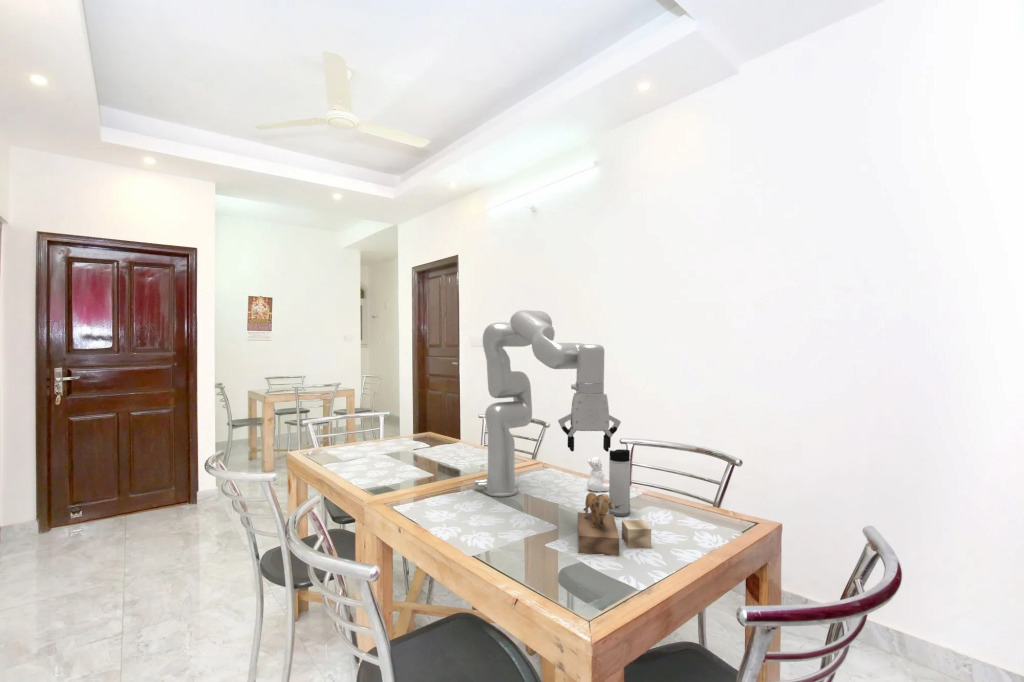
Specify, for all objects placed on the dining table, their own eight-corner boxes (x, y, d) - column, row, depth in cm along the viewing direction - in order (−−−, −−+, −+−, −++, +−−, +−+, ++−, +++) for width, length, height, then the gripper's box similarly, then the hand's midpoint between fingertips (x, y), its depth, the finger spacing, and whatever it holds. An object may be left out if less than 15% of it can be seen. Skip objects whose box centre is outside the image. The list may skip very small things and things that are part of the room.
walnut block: (578, 555, 114) (578, 535, 114) (577, 529, 130) (577, 512, 130) (619, 558, 113) (619, 538, 113) (613, 531, 129) (613, 514, 129)
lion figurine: (617, 531, 117) (617, 496, 117) (598, 533, 116) (598, 497, 116) (591, 510, 131) (591, 479, 131) (574, 512, 130) (574, 480, 130)
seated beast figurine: (616, 491, 163) (616, 457, 163) (599, 495, 158) (599, 461, 158) (597, 484, 170) (597, 452, 171) (580, 488, 166) (580, 455, 166)
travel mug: (619, 518, 137) (619, 452, 137) (605, 511, 143) (605, 447, 143) (635, 515, 140) (635, 450, 140) (620, 508, 146) (620, 445, 146)
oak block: (628, 548, 117) (628, 529, 117) (621, 538, 123) (621, 520, 123) (651, 548, 117) (651, 529, 117) (643, 538, 123) (643, 520, 123)
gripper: (561, 390, 122) (560, 453, 122) (624, 390, 123) (623, 453, 123) (557, 387, 130) (555, 446, 130) (616, 387, 130) (615, 447, 131)
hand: (588, 450), depth 126 cm, fingers open, 9 cm apart
